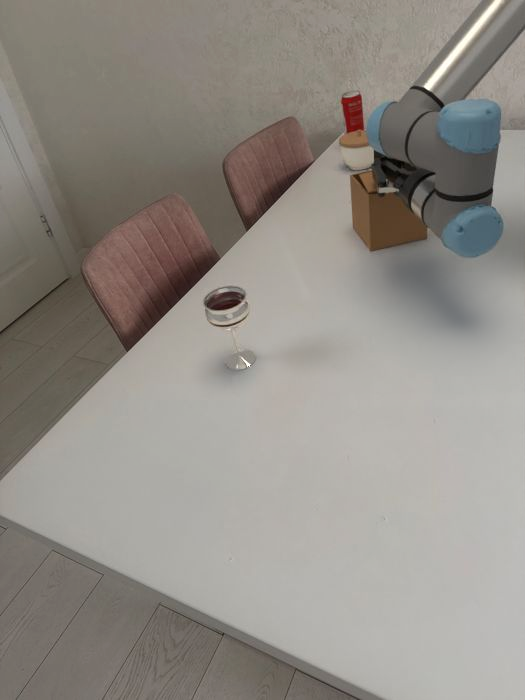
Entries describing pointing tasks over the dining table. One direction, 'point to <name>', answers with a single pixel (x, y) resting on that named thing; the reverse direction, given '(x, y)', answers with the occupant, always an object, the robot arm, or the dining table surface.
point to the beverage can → (352, 111)
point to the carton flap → (370, 182)
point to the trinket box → (356, 150)
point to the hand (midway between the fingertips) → (381, 153)
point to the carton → (382, 217)
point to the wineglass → (230, 319)
